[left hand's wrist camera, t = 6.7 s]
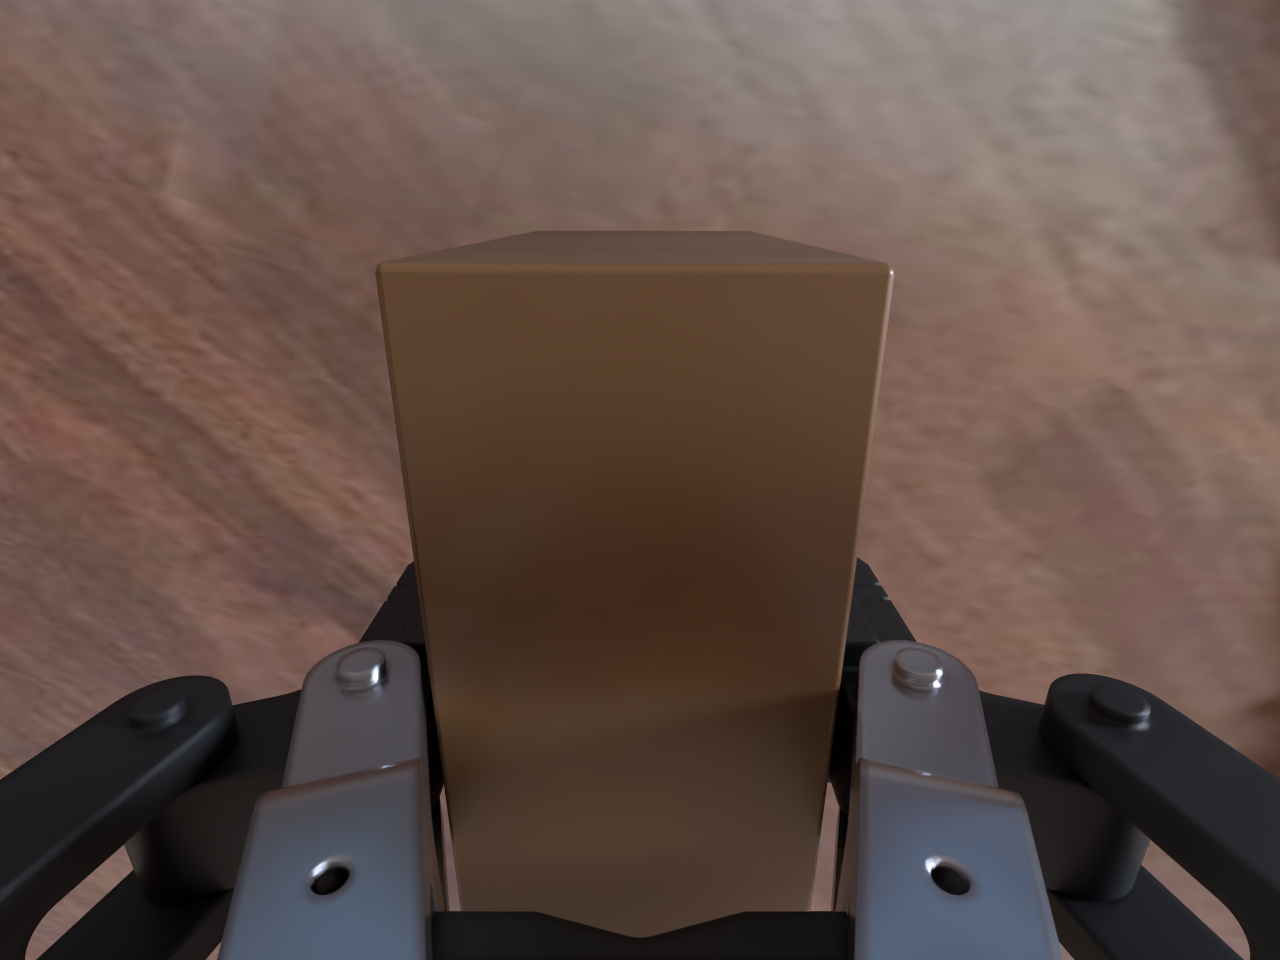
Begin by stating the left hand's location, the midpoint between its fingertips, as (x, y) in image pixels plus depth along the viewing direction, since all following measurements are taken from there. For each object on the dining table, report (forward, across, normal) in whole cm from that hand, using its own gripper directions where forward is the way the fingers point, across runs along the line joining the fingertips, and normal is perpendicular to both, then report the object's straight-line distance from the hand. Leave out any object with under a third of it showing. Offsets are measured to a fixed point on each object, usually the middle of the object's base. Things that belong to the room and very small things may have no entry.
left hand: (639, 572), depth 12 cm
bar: (+4, 0, -23) cm, 23 cm away
